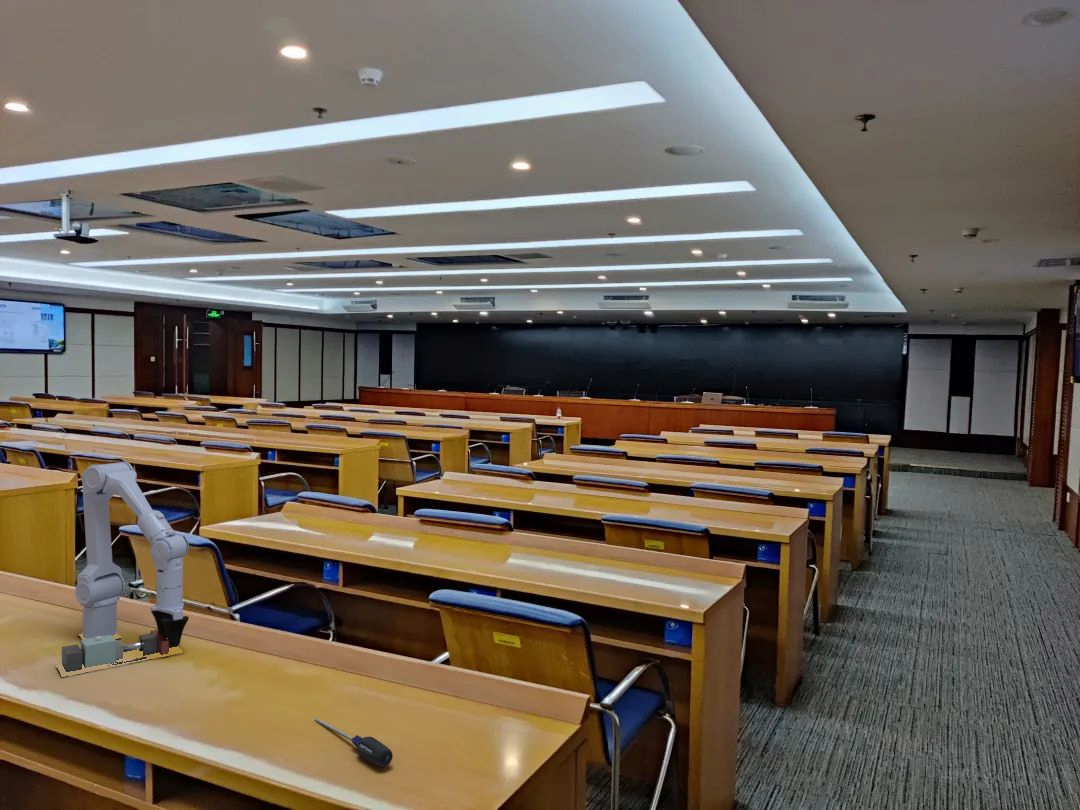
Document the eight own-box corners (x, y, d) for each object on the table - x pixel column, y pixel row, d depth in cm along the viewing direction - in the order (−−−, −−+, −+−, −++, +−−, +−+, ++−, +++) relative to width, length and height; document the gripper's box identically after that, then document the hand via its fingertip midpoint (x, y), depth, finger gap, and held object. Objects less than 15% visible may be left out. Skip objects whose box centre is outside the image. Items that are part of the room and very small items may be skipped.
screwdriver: (306, 722, 144) (306, 703, 144) (323, 717, 146) (324, 698, 146) (377, 776, 125) (378, 754, 125) (396, 769, 127) (396, 747, 127)
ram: (108, 650, 175) (108, 638, 175) (157, 641, 182) (157, 629, 182) (118, 663, 168) (118, 650, 168) (168, 653, 175) (168, 640, 175)
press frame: (55, 667, 168) (55, 646, 168) (174, 644, 184) (174, 625, 184) (61, 678, 162) (61, 657, 161) (183, 653, 178) (183, 634, 178)
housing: (80, 661, 169) (80, 636, 169) (110, 655, 173) (110, 631, 173) (85, 668, 166) (85, 642, 166) (115, 662, 170) (115, 636, 170)
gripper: (143, 582, 182) (143, 637, 182) (159, 595, 171) (159, 654, 171) (174, 577, 186) (174, 631, 187) (192, 590, 175) (192, 647, 176)
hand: (169, 642), depth 179 cm, fingers open, 7 cm apart
